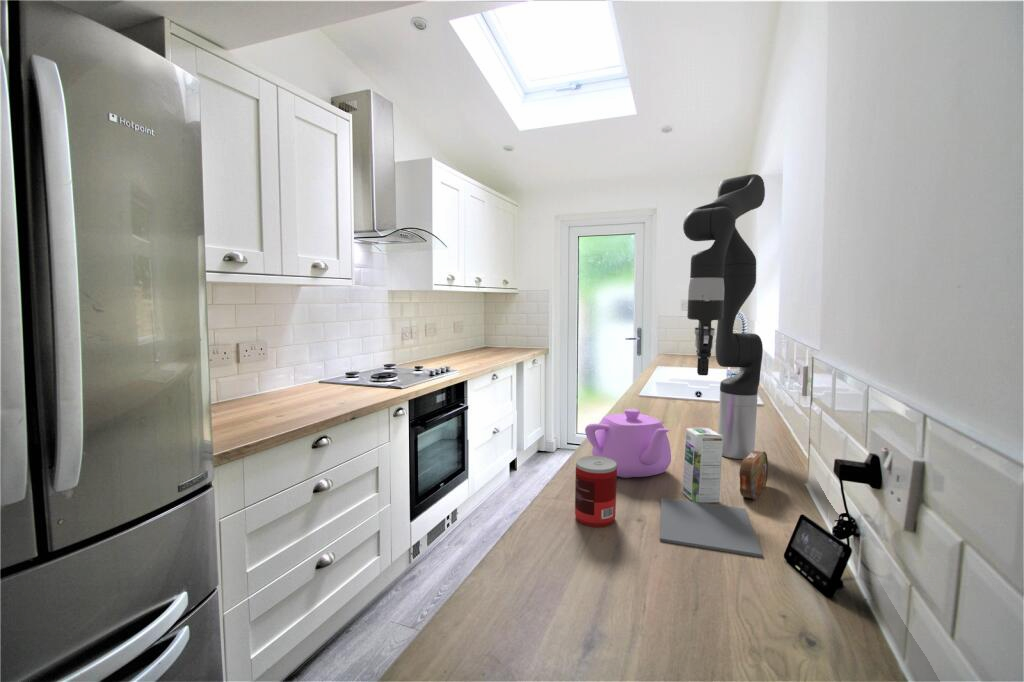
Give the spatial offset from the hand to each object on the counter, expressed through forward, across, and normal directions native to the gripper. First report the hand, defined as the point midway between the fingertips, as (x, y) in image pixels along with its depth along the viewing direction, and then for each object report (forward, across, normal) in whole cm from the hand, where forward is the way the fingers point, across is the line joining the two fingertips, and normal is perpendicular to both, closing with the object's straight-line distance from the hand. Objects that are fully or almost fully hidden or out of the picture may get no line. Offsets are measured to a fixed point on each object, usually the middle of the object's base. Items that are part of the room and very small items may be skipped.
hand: (702, 374), depth 108 cm
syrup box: (+25, +10, 0) cm, 27 cm away
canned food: (+25, +27, -20) cm, 42 cm away
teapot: (+25, -2, -15) cm, 29 cm away
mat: (+25, +23, 0) cm, 34 cm away
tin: (+25, +3, +11) cm, 28 cm away
